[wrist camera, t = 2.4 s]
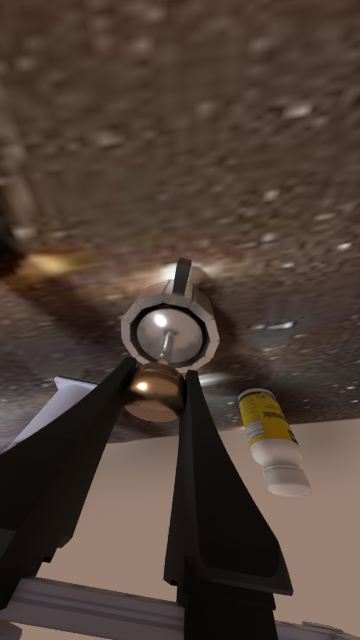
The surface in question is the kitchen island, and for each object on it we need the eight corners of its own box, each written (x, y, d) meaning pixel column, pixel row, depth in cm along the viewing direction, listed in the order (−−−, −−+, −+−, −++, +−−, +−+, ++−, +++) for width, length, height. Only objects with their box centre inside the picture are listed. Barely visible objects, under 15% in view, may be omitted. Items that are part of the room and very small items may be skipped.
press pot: (201, 354, 19) (202, 380, 16) (135, 340, 19) (122, 363, 16) (233, 268, 13) (246, 279, 10) (139, 247, 13) (119, 251, 10)
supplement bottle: (281, 395, 22) (334, 494, 14) (255, 410, 25) (285, 501, 16) (254, 381, 21) (294, 479, 13) (230, 398, 24) (248, 488, 15)
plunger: (193, 364, 16) (192, 438, 10) (137, 352, 16) (103, 421, 10) (210, 315, 12) (223, 384, 7) (140, 300, 12) (92, 357, 7)
